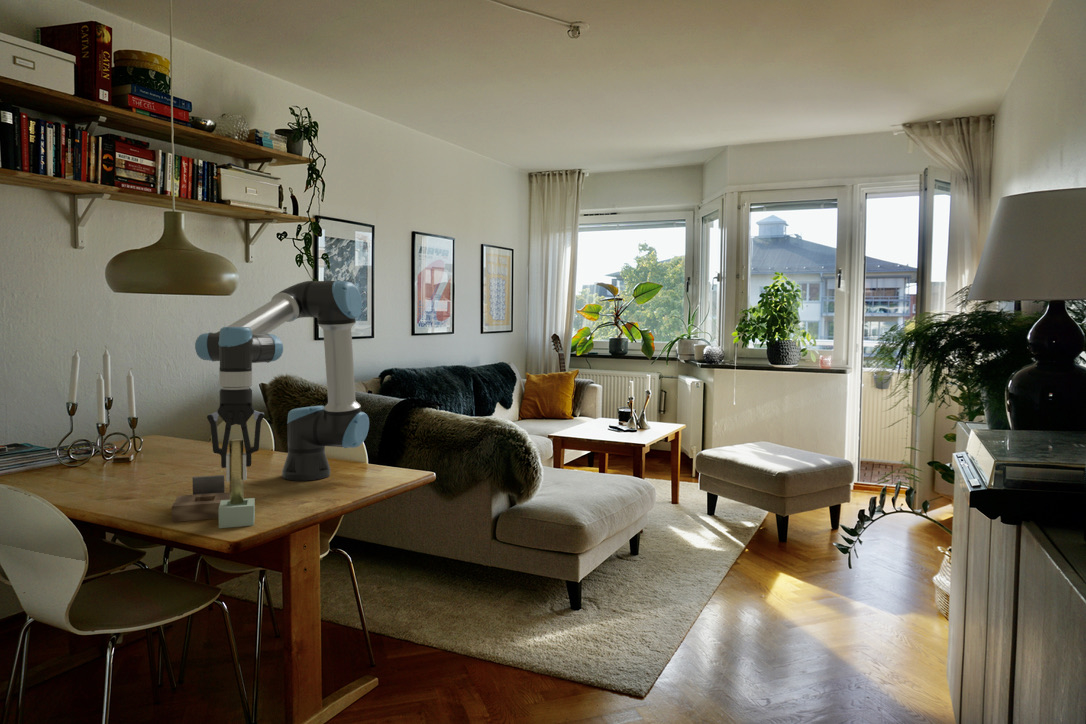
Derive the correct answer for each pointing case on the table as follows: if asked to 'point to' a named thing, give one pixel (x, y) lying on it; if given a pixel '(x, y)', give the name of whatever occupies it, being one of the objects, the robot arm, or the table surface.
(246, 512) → the hollow square block
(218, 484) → the grey t-shaped plug
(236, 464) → the peg
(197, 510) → the socket block
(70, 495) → the table surface
